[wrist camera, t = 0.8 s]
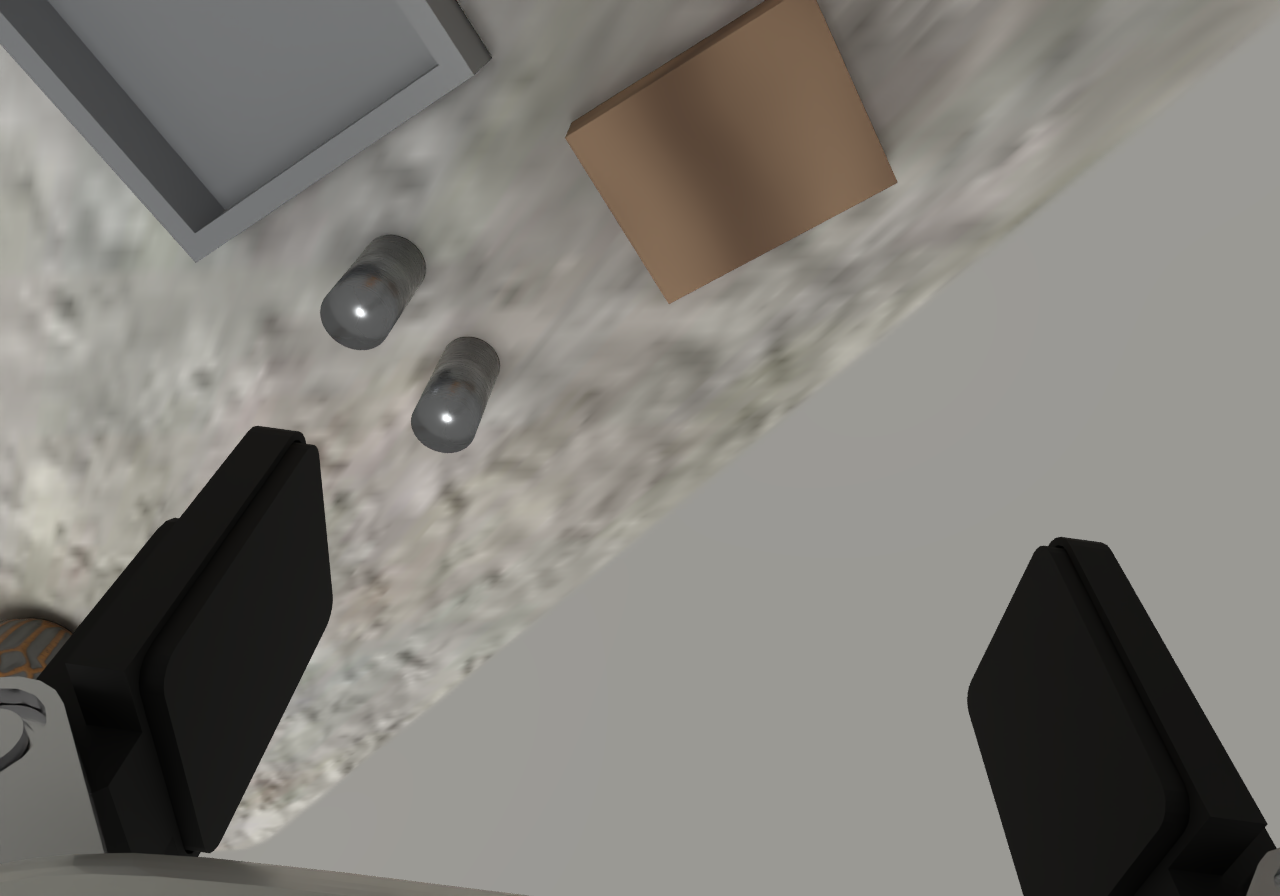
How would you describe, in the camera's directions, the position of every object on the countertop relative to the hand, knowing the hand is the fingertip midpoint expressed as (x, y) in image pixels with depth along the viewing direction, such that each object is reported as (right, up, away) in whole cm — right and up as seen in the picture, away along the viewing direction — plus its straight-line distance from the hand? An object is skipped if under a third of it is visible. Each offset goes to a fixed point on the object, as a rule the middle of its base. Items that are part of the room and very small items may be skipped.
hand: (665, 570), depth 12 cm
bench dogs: (-9, +7, +24) cm, 27 cm away
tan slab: (+3, +13, +21) cm, 24 cm away
